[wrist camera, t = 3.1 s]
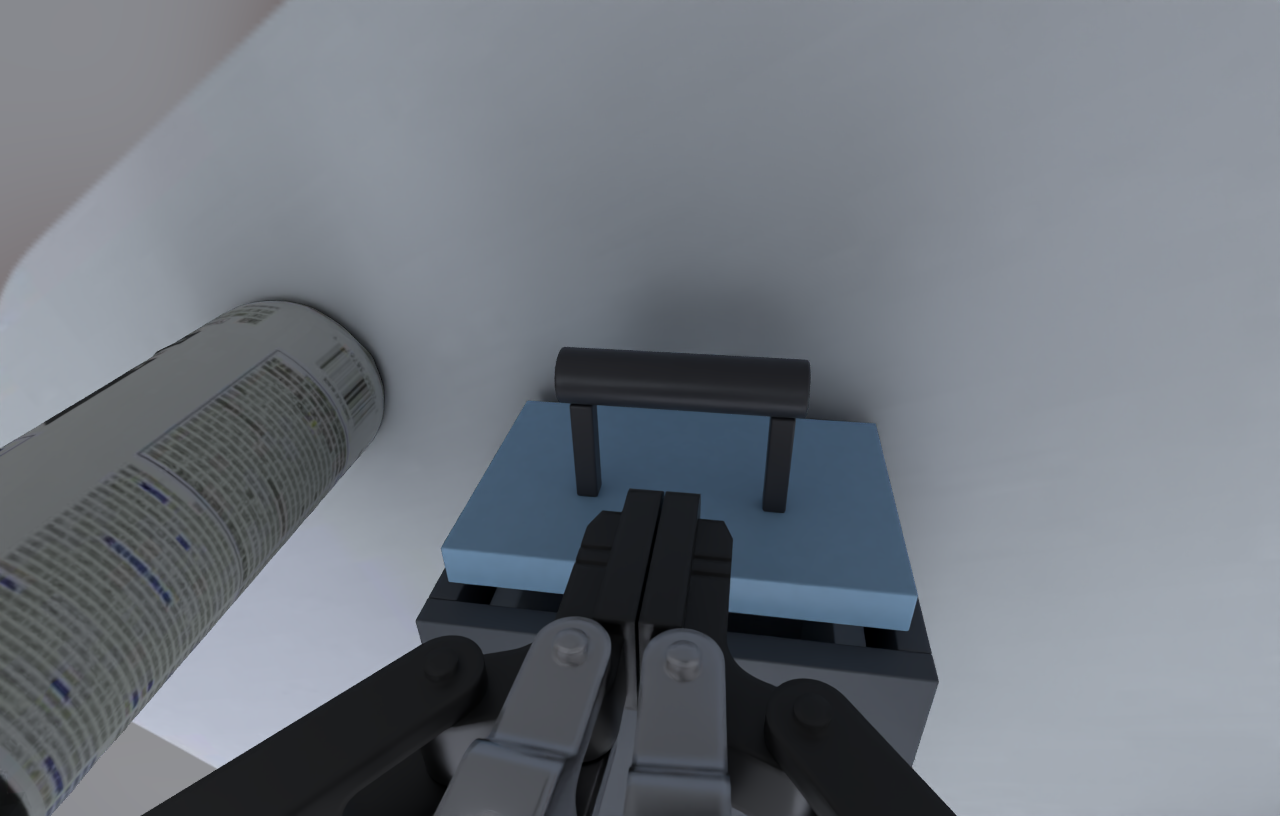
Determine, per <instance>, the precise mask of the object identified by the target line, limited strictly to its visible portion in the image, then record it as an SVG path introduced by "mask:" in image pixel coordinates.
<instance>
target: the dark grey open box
mask: <svg viewBox="0 0 1280 816" xmlns="http://www.w3.org/2000/svg"><path fill="white" fill-rule="evenodd" d="M496 589H497V587H492V586H482V585H473V584H464V583H455V582H449V581H448V577H447V573H446V568H445V569H444V571H443V572H442V574H441V576H440V578H439V579H438V581H437V583H436V585H435V587H434V588H433V590H432V592H431V594H430V596H429V598H428V599H427V601H426V603H425V605H424V606H423V608H422V610H421V612H420V614H419V615H418V617H417V619H416V624H417V628H418V632H419V635H420V639H421V643H422V644H423V643H425V642H427V641H429V640H431V639H434V638H437V637H441V636H447V635H458V636H463V637H466V638H469V639H471V640H473V641H474V642H475V643H476V644H478V646H479V647H480V648H481V650H482V653H483V654H489V653H495V652H501V651H507V650H512V649H517V648H520V647H523V646H526V645H528V644H530V643H532V642H533V640H534V638H535V637H536V635H537V634H538V633H539V631H540V630H541V629H542V628H544V627H545V626H546V625H548V624H549V623H551V622H553V621H554V620H555V618H556V615H557V612H549V611H540V610H531V609H522V608H513V607H504V606H495V605H490V603H491V600H492V598H493V596H494V594H495V592H496ZM863 628H864V635H865V641H866V647H862V646H853V645H844V644H835V643H826V642H817V641H808V640H800V639H791V638H782V637H773V636H764V635H755V634H746V633H737V632H728V631H727V644H728V648H729V651H730V653H731V655H732V657H733V658H734V660H735V661H736V662H737V664H738V665H739V666H740V667H741V668H742V669H743V670H745V671H746V672H747V673H749V674H750V675H752V676H754V677H756V678H758V679H760V680H762V681H764V682H767V683H769V684H772V685H774V686H776V687H778V686H779V685H781V684H782V683H784V682H787V681H789V680H793V679H800V678H807V679H814V680H819V681H821V682H824V683H827V684H828V685H830V686H832V687H834V688H835V689H837V690H838V691H840V692H841V693H842V694H843V695H844V696H845V697H846V698H847V699H848V700H849V701H850V702H851V703H852V704H853V706H854V707H855V708H856V709H857V710H858V711H859V712H860V713H861V714H862V715H863V716H864V717H865V718H866V719H867V720H868V722H869V723H870V724H871V725H872V726H873V727H874V728H875V729H876V730H877V731H878V732H879V733H880V734H881V735H882V736H883V738H884V739H885V740H886V741H887V742H888V743H889V744H890V745H891V746H892V747H893V748H894V749H895V750H896V751H897V753H898V754H899V755H900V756H901V757H902V758H903V759H904V760H905V761H906V762H907V763H908V764H909V765H910V766H911V767H912V765H913V762H914V758H915V755H916V752H917V749H918V746H919V743H920V740H921V736H922V733H923V730H924V727H925V724H926V721H927V717H928V714H929V711H930V708H931V705H932V702H933V699H934V695H935V692H936V689H937V686H938V683H939V681H938V677H937V673H936V668H935V664H934V660H933V656H932V655H931V654H932V652H931V648H930V644H929V640H928V636H927V632H926V628H925V624H924V620H923V616H922V611H921V607H920V603H919V599H918V598H917V601H916V605H915V609H914V613H913V617H912V620H911V624H910V628H909V630H908V631H901V630H891V629H882V628H873V627H863ZM636 718H637V711H633V710H625V709H624V710H623V715H622V720H621V725H620V730H619V734H618V737H617V750H616V754H615V758H614V761H613V765H612V768H611V772H610V775H609V779H608V783H607V786H606V790H605V793H604V797H603V800H602V804H601V807H600V811H599V814H598V816H623V811H624V801H625V791H626V782H627V775H628V770H629V767H630V766H631V764H632V758H633V748H634V738H635V728H636ZM731 814H732V816H748V815H746V814H744V813H742V812H740V811H738V810H736V809H734V808H733V807H731Z"/></svg>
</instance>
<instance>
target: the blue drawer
mask: <svg viewBox="0 0 1280 816" xmlns="http://www.w3.org/2000/svg"><path fill="white" fill-rule="evenodd" d="M810 378H811V369H810V362H809V361H808V360H802V359H783V358H764V357H746V356H727V355H708V354H690V353H671V352H652V351H633V350H615V349H596V348H577V347H563V348H562V349H561V350H560V352H559V354H558V357H557V361H556V366H555V391H556V396H557V399H558V401H559V402H561V403H556V402H541V401H527V402H526V404H525V405H524V407H523V409H522V411H521V412H520V414H519V416H518V417H517V419H516V421H515V422H514V424H513V426H512V428H511V429H510V431H509V433H508V434H507V436H506V438H505V440H504V441H503V443H502V445H501V446H500V448H499V450H498V451H497V453H496V455H495V457H494V458H493V460H492V462H491V463H490V465H489V467H488V469H487V470H486V472H485V474H484V475H483V477H482V479H481V480H480V482H479V484H478V486H477V487H476V489H475V491H474V492H473V494H472V496H471V497H470V499H469V501H468V503H467V504H466V506H465V508H464V509H463V511H462V513H461V515H460V516H459V518H458V520H457V521H456V523H455V525H454V526H453V528H452V530H451V532H450V533H449V535H448V537H447V538H446V540H445V542H444V544H443V545H442V547H441V551H442V555H443V560H444V564H445V568H446V573H447V577H448V581H449V582H455V583H464V584H473V585H482V586H492V587H497V589H496V592H495V594H494V596H493V598H492V600H491V603H490V605H495V606H504V607H513V608H522V609H531V610H540V611H549V612H558V609H559V606H560V603H561V601H562V598H563V595H564V592H565V589H566V586H567V583H568V580H569V577H570V574H571V571H572V568H573V565H574V563H575V562H576V557H577V554H578V551H579V548H580V547H581V542H582V539H583V536H584V533H585V530H586V528H587V525H588V524H589V523H590V522H591V521H592V520H593V519H594V518H595V517H596V516H597V515H598V514H599V513H600V512H601V511H602V510H605V511H616V512H622V510H623V507H624V503H625V500H626V496H627V493H628V490H629V488H633V489H645V490H657V491H664V495H665V493H666V491H671V492H684V493H696V494H701V513H700V519H710V520H721V521H724V522H725V524H726V526H727V528H728V530H729V532H730V534H731V536H732V538H733V549H732V564H731V580H730V596H729V611H728V626H727V631H728V632H737V633H746V634H755V635H764V636H773V637H782V638H791V639H800V640H808V641H817V642H826V643H835V644H844V645H853V646H862V647H866V641H865V635H864V628H863V627H873V628H882V629H891V630H901V631H908V630H909V628H910V624H911V620H912V617H913V613H914V609H915V605H916V601H917V598H918V594H917V590H916V586H915V582H914V577H913V573H912V569H911V565H910V561H909V557H908V553H907V549H906V545H905V541H904V537H903V533H902V529H901V525H900V520H899V516H898V512H897V508H896V504H895V500H894V496H893V492H892V488H891V484H890V480H889V476H888V472H887V468H886V463H885V459H884V455H883V451H882V447H881V443H880V439H879V435H878V431H877V427H876V424H874V423H860V422H845V421H829V420H814V419H803V418H805V417H806V415H807V411H808V404H809V395H810ZM601 405H602V406H601ZM677 410H678V411H677ZM753 415H754V416H753Z"/></svg>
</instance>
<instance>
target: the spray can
mask: <svg viewBox="0 0 1280 816" xmlns="http://www.w3.org/2000/svg"><path fill="white" fill-rule="evenodd" d="M383 397H384V389H383V385H382V381H381V378H380V375H379V373H378V370H377V368H376V365H375V363H374V360H373V358H372V356H371V354H370V353H369V352H368V351H367V350H366V349H365V348H364V347H363V346H362V345H361V344H360V343H359V342H358V341H357V340H356V339H355V338H354V337H353V336H352V335H351V334H350V333H349V332H348V331H347V330H346V329H344V328H343V327H342V326H341V325H339V324H338V323H337V322H335V321H334V320H332V319H331V318H329V317H327V316H326V315H324V314H322V313H320V312H319V311H317V310H315V309H313V308H311V307H309V306H306V305H303V304H297V303H292V302H287V301H262V302H254V303H249V304H245V305H242V306H238V307H236V308H234V309H232V310H230V311H228V312H226V313H224V314H222V315H220V316H219V317H217V318H215V319H214V320H212V321H210V322H209V323H207V324H205V325H204V326H202V327H200V328H199V329H197V330H195V331H194V332H192V333H190V334H189V335H187V336H185V337H184V338H182V339H180V340H179V341H177V342H176V343H174V344H172V345H170V346H167V347H165V348H163V349H161V350H159V351H157V352H156V353H155V354H154V355H153V357H151V358H150V359H148V360H147V361H145V362H143V363H141V364H140V365H138V366H136V367H135V368H133V369H131V370H129V371H128V372H126V373H125V374H123V375H122V376H120V377H118V378H117V379H115V380H113V381H112V382H110V383H108V384H107V385H105V386H103V387H102V388H100V389H99V390H97V391H95V392H94V393H92V394H90V395H89V396H87V397H85V398H84V399H82V400H80V401H79V402H77V403H75V404H74V405H72V406H70V407H69V408H67V409H65V410H64V411H62V412H60V413H59V414H57V415H55V416H54V417H52V418H50V419H49V420H47V421H45V422H44V423H42V424H41V425H39V426H37V427H36V428H34V429H32V430H31V431H29V432H27V433H25V434H24V435H22V436H20V437H19V438H17V439H15V440H14V441H12V442H10V443H9V444H7V445H5V446H4V447H2V448H0V816H51V815H52V813H53V812H54V811H55V810H56V809H57V808H58V807H59V805H60V804H61V803H62V802H63V801H64V800H65V799H66V798H67V797H68V795H69V794H70V793H71V792H72V791H73V790H74V789H75V787H76V786H77V785H78V784H79V782H80V781H81V780H82V779H83V777H84V776H85V775H86V774H87V773H88V771H89V770H90V769H91V768H92V766H93V765H94V764H95V763H96V762H97V760H98V759H99V758H100V757H101V756H102V755H103V754H104V752H105V751H106V750H107V749H108V748H109V747H110V746H111V745H112V743H113V742H114V741H115V740H116V739H117V738H118V737H119V736H120V735H121V733H122V732H123V731H124V730H125V729H126V728H127V726H128V725H129V724H130V723H131V721H132V720H133V719H134V718H135V717H136V716H137V715H138V714H139V712H140V711H141V710H142V709H143V708H144V707H145V705H146V704H147V703H148V702H149V701H150V700H151V698H152V697H153V696H154V695H155V694H156V693H157V691H158V690H159V689H160V688H161V687H162V685H163V684H164V683H165V682H166V681H167V680H168V678H169V677H170V676H171V675H172V674H173V673H174V671H175V670H176V669H177V668H178V667H179V666H180V664H181V663H182V662H183V661H184V660H185V659H186V657H187V656H188V655H189V654H190V653H191V652H192V651H193V649H194V648H195V647H196V646H197V645H198V644H199V643H200V641H201V640H202V639H203V638H204V637H205V636H206V635H207V633H208V632H209V631H210V630H211V629H212V627H213V626H214V625H215V624H216V623H217V622H218V620H219V619H220V618H221V617H222V616H223V615H224V613H225V612H226V611H227V610H228V609H229V608H230V606H231V605H232V604H233V603H234V602H235V601H236V600H237V598H238V597H239V596H240V595H241V594H242V593H243V591H244V590H245V589H246V588H247V587H248V586H249V584H250V583H251V582H252V581H253V580H254V579H255V577H256V576H257V575H258V574H259V573H260V572H261V570H262V569H263V568H264V567H265V566H266V564H267V563H268V562H269V561H270V560H271V559H272V557H273V556H274V555H275V554H276V553H277V552H278V551H279V550H280V548H281V547H282V546H283V545H284V544H285V543H286V542H287V540H288V539H289V538H290V537H291V536H292V534H293V533H294V532H295V531H296V530H297V528H298V527H299V526H300V525H301V524H302V522H303V521H304V520H305V519H306V518H307V517H308V516H309V515H310V514H311V512H312V511H313V510H314V509H315V508H316V507H317V505H318V504H319V503H320V502H321V500H322V499H323V498H324V497H325V496H326V495H327V494H328V492H329V491H330V490H331V489H332V488H333V487H334V485H335V484H336V483H337V482H338V480H339V479H340V478H341V477H342V476H343V475H344V474H345V473H346V471H347V470H348V469H349V468H350V467H351V465H352V464H353V463H354V462H355V461H356V460H357V459H358V457H359V456H360V455H361V454H362V453H363V451H364V450H365V449H366V448H367V447H368V446H369V444H370V443H371V442H372V440H373V439H374V437H375V435H376V433H377V431H378V429H379V426H380V424H381V421H382V419H383V415H384V405H383Z"/></svg>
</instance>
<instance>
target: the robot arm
mask: <svg viewBox="0 0 1280 816" xmlns="http://www.w3.org/2000/svg"><path fill="white" fill-rule="evenodd" d="M700 513H701V494H696V493H684V492H671V491H666V493H665V495H664V491H657V490H645V489H633V488H629V490H628V493H627V496H626V500H625V503H624V507H623V510H622V512H616V511H605V510H602V511H601V512H600V513H599V514H598V515H597V516H596V517H595V518H594V519H593V520H592V521H591V522H590V523H589V524H588V525H587V528H586V530H585V533H584V536H583V539H582V542H581V547H580V548H579V551H578V554H577V557H576V562H575V563H574V565H573V568H572V571H571V574H570V577H569V580H568V583H567V586H566V589H565V592H564V595H563V598H562V601H561V603H560V606H559V609H558V612H557V615H556V618H555V620H554V621H553V622H551V623H549V624H548V625H546V626H545V627H544V628H542V629H541V630H540V631H539V633H538V634H537V635H536V637H535V638H534V640H533V642H532V643H530V644H528V645H526V646H523V647H520V648H517V649H512V650H507V651H501V652H495V653H489V654H483V653H482V650H481V648H480V647H479V646H478V644H476V643H475V642H474V641H473V640H471V639H469V638H466V637H463V636H458V635H447V636H441V637H437V638H434V639H431V640H429V641H427V642H425V643H423V644H421V645H420V646H418V647H417V648H415V649H413V650H412V651H410V652H408V653H407V654H405V655H403V656H402V657H400V658H399V659H397V660H395V661H394V662H392V663H390V664H389V665H387V666H385V667H384V668H382V669H381V670H379V671H377V672H376V673H374V674H372V675H371V676H369V677H367V678H366V679H364V680H363V681H361V682H359V683H358V684H356V685H354V686H353V687H351V688H349V689H348V690H346V691H344V692H343V693H341V694H340V695H338V696H336V697H335V698H333V699H331V700H330V701H328V702H326V703H325V704H323V705H322V706H320V707H318V708H317V709H315V710H313V711H312V712H310V713H308V714H307V715H305V716H304V717H302V718H300V719H299V720H297V721H295V722H294V723H292V724H290V725H289V726H287V727H286V728H284V729H282V730H281V731H279V732H277V733H276V734H274V735H272V736H271V737H269V738H267V739H266V740H264V741H263V742H261V743H259V744H258V745H256V746H254V747H253V748H251V749H249V750H248V751H246V752H245V753H243V754H241V755H240V756H238V757H236V758H235V759H233V760H231V761H230V762H228V763H227V764H225V765H223V766H222V767H220V768H218V769H217V770H215V771H213V772H212V773H210V774H209V775H207V776H205V777H204V778H202V779H200V780H199V781H197V782H195V783H194V784H192V785H191V786H189V787H187V788H186V789H184V790H182V791H181V792H179V793H177V794H176V795H174V796H172V797H171V798H169V799H168V800H166V801H164V802H163V803H161V804H159V805H158V806H156V807H154V808H153V809H151V810H150V811H148V812H146V813H145V814H143V815H141V816H598V814H599V811H600V807H601V804H602V800H603V797H604V793H605V790H606V786H607V783H608V779H609V775H610V772H611V768H612V765H613V761H614V758H615V754H616V750H617V737H618V734H619V730H620V725H621V720H622V715H623V710H624V709H625V710H633V711H637V718H636V728H635V738H634V748H633V758H632V764H631V766H630V767H629V770H628V775H627V782H626V791H625V801H624V811H623V816H732V814H731V807H733V808H734V809H736V810H738V811H740V812H742V813H744V814H746V815H748V816H956V814H955V813H954V812H953V811H952V810H951V809H950V808H949V807H948V806H947V805H946V804H945V803H944V802H943V801H942V799H941V798H940V797H939V796H938V795H937V794H936V793H935V792H934V791H933V790H932V789H931V788H930V787H929V786H928V785H927V783H926V782H925V781H924V780H923V779H922V778H921V777H920V776H919V775H918V774H917V773H916V772H915V771H914V770H913V769H912V767H911V766H910V765H909V764H908V763H907V762H906V761H905V760H904V759H903V758H902V757H901V756H900V755H899V754H898V753H897V751H896V750H895V749H894V748H893V747H892V746H891V745H890V744H889V743H888V742H887V741H886V740H885V739H884V738H883V736H882V735H881V734H880V733H879V732H878V731H877V730H876V729H875V728H874V727H873V726H872V725H871V724H870V723H869V722H868V720H867V719H866V718H865V717H864V716H863V715H862V714H861V713H860V712H859V711H858V710H857V709H856V708H855V707H854V706H853V704H852V703H851V702H850V701H849V700H848V699H847V698H846V697H845V696H844V695H843V694H842V693H841V692H840V691H838V690H837V689H835V688H834V687H832V686H830V685H828V684H827V683H824V682H821V681H819V680H814V679H807V678H800V679H793V680H789V681H787V682H784V683H782V684H781V685H779V686H778V687H776V686H774V685H772V684H769V683H767V682H764V681H762V680H760V679H758V678H756V677H754V676H752V675H750V674H749V673H747V672H746V671H745V670H743V669H742V668H741V667H740V666H739V665H738V664H737V662H736V661H735V660H734V658H733V657H732V655H731V653H730V651H729V648H728V644H727V626H728V611H729V596H730V580H731V564H732V549H733V538H732V536H731V534H730V532H729V530H728V528H727V526H726V524H725V522H724V521H721V520H710V519H700Z"/></svg>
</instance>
